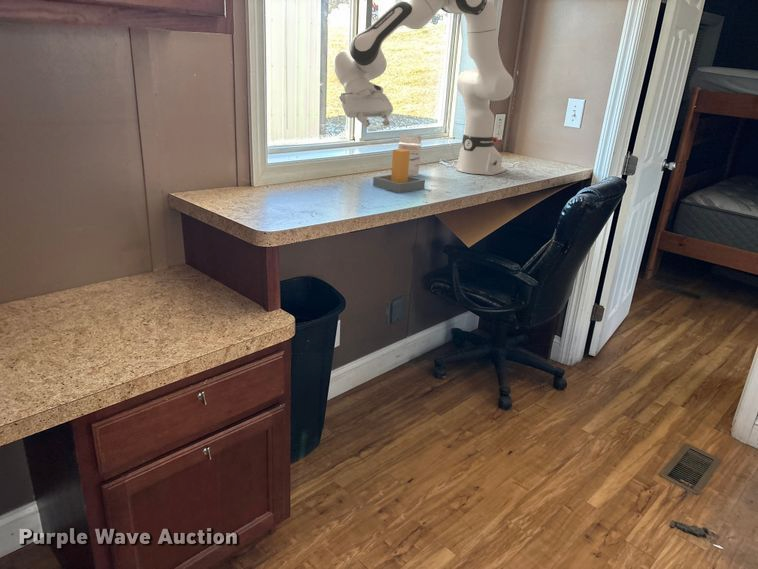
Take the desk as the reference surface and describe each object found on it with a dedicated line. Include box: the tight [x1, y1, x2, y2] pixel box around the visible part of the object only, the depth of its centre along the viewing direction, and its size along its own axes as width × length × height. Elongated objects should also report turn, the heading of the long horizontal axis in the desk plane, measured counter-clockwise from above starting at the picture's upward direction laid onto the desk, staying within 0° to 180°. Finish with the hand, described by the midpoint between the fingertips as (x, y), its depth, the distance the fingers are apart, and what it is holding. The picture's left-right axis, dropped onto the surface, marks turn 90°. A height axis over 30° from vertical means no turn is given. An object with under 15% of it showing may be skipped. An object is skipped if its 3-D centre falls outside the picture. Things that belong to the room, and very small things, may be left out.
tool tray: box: [372, 173, 426, 194], centre depth 193 cm, size 13×13×3 cm
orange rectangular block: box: [390, 148, 410, 183], centre depth 191 cm, size 4×4×12 cm
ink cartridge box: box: [397, 133, 422, 177], centre depth 212 cm, size 9×5×15 cm, turn 84°
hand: (377, 125), depth 194 cm, fingers open, 8 cm apart
